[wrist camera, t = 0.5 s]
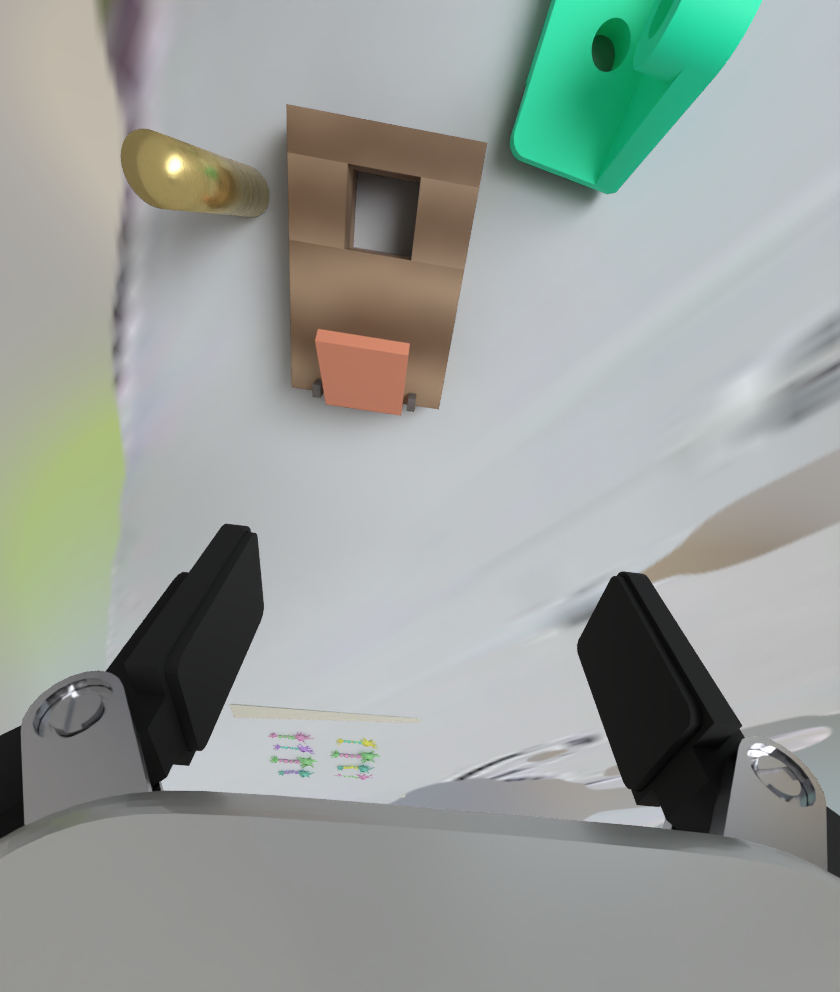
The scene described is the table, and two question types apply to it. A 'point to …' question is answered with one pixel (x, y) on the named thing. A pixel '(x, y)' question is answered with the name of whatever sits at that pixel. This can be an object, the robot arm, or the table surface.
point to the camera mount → (619, 81)
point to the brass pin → (190, 177)
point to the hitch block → (371, 274)
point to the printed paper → (282, 713)
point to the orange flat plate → (362, 371)
